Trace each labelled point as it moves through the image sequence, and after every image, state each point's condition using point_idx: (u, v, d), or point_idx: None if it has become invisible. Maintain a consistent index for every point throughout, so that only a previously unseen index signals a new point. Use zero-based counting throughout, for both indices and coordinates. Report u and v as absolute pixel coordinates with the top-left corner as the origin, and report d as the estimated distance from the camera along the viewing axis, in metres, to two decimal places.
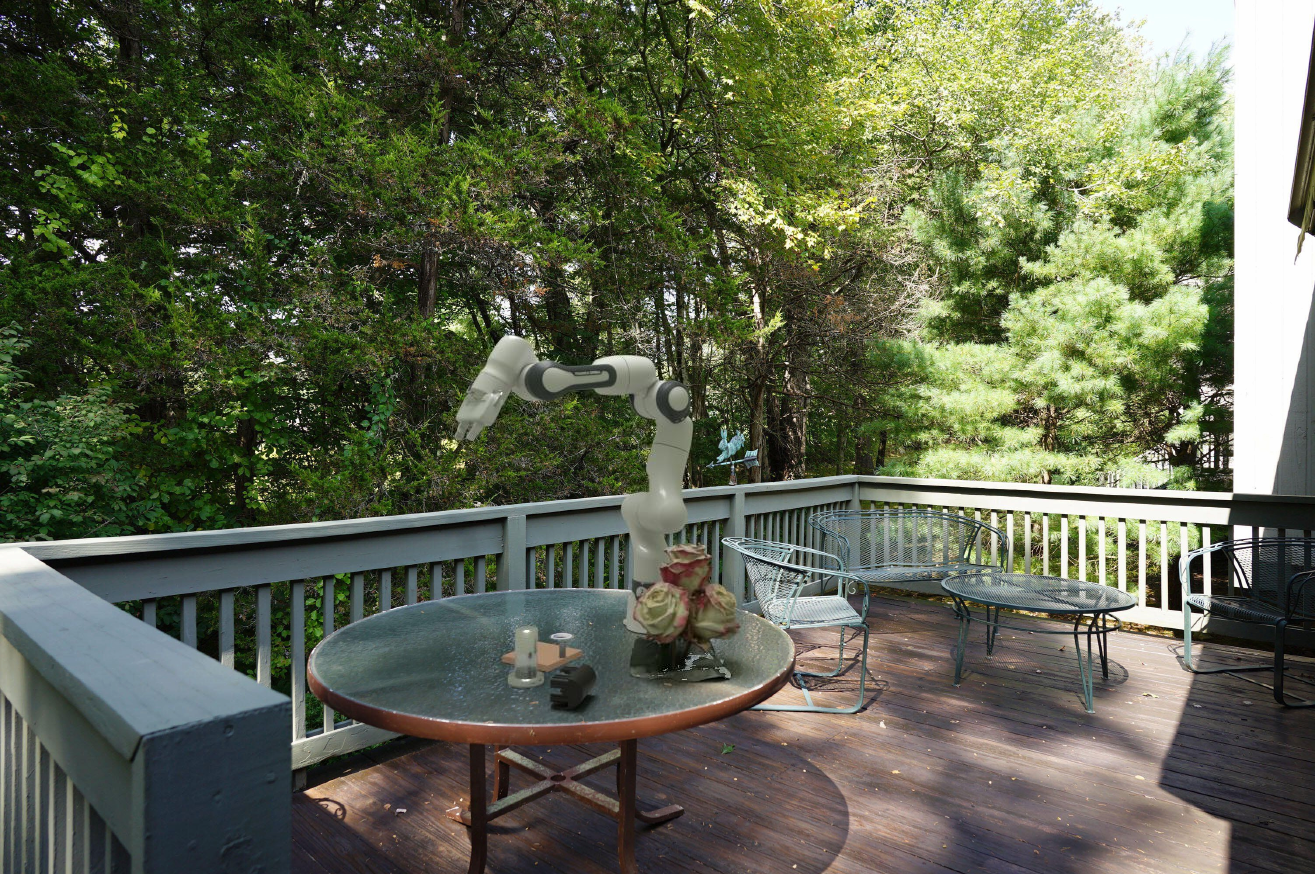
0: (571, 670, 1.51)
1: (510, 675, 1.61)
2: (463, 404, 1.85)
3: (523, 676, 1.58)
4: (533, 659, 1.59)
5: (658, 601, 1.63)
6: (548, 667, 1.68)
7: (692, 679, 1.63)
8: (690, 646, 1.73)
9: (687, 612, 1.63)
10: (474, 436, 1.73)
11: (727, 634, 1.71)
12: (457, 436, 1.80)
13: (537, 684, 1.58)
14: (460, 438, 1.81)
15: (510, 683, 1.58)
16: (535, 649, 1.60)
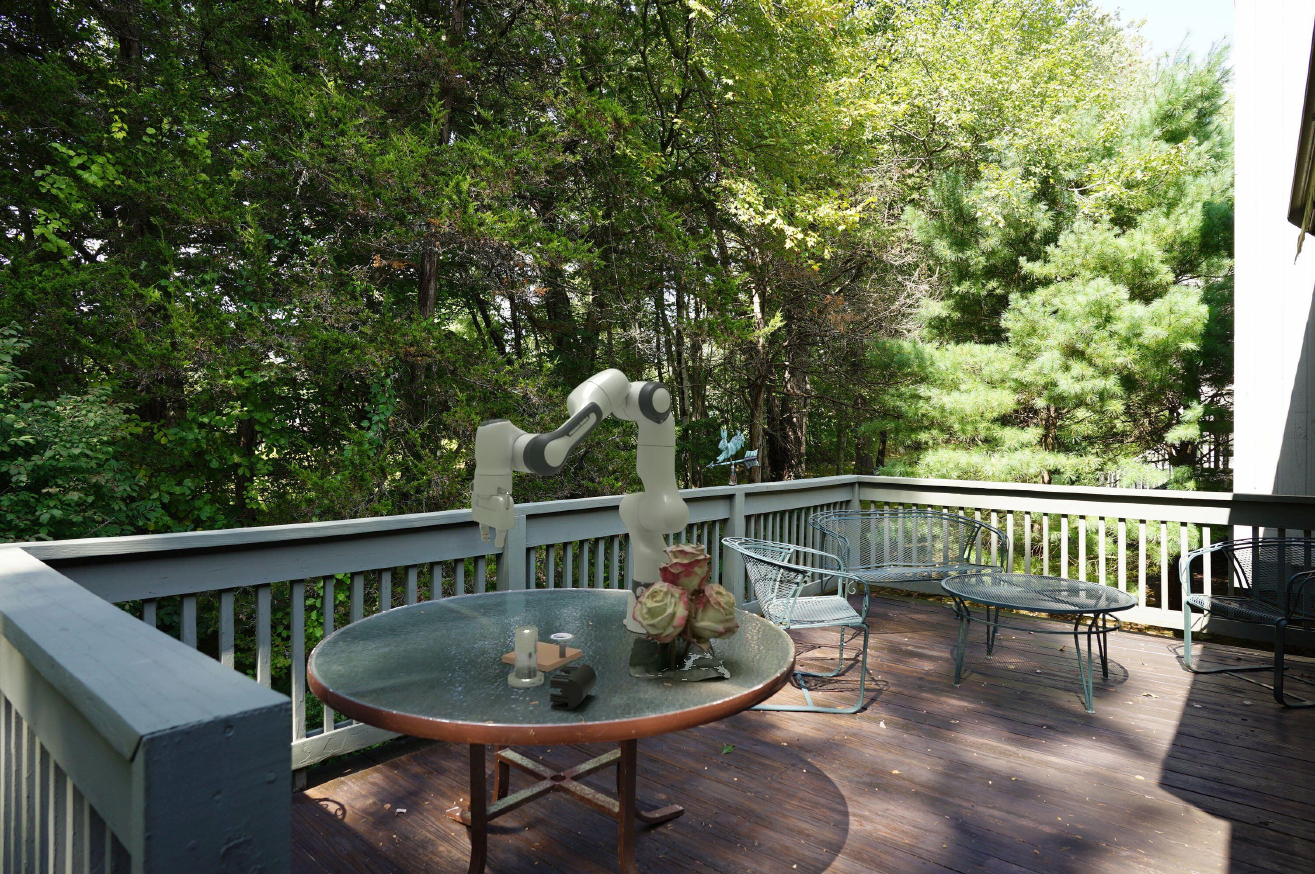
0: (571, 670, 1.51)
1: (510, 675, 1.61)
2: (473, 503, 1.77)
3: (523, 676, 1.58)
4: (533, 659, 1.59)
5: (657, 601, 1.63)
6: (548, 667, 1.68)
7: (691, 679, 1.64)
8: (689, 646, 1.74)
9: (686, 612, 1.63)
10: (502, 542, 1.67)
11: (726, 634, 1.71)
12: (484, 540, 1.74)
13: (537, 684, 1.58)
14: (488, 540, 1.75)
15: (510, 683, 1.58)
16: (535, 649, 1.60)
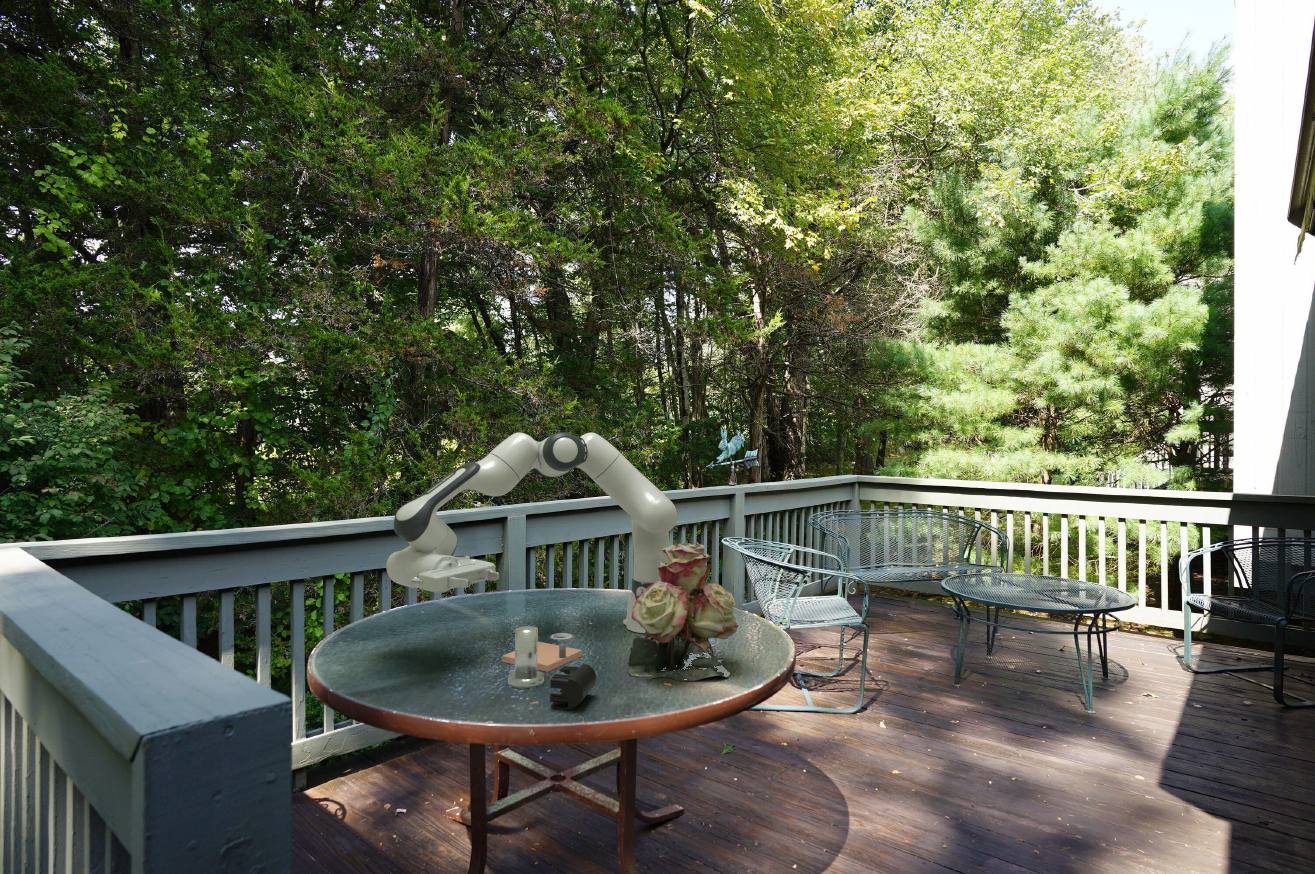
0: (571, 670, 1.51)
1: (510, 675, 1.61)
2: None
3: (523, 676, 1.58)
4: (533, 659, 1.59)
5: (657, 600, 1.63)
6: (548, 667, 1.68)
7: (690, 678, 1.64)
8: (688, 645, 1.74)
9: (686, 611, 1.63)
10: (462, 580, 1.63)
11: (725, 633, 1.71)
12: (493, 579, 1.71)
13: (537, 684, 1.58)
14: (493, 575, 1.71)
15: (510, 683, 1.58)
16: (535, 649, 1.60)
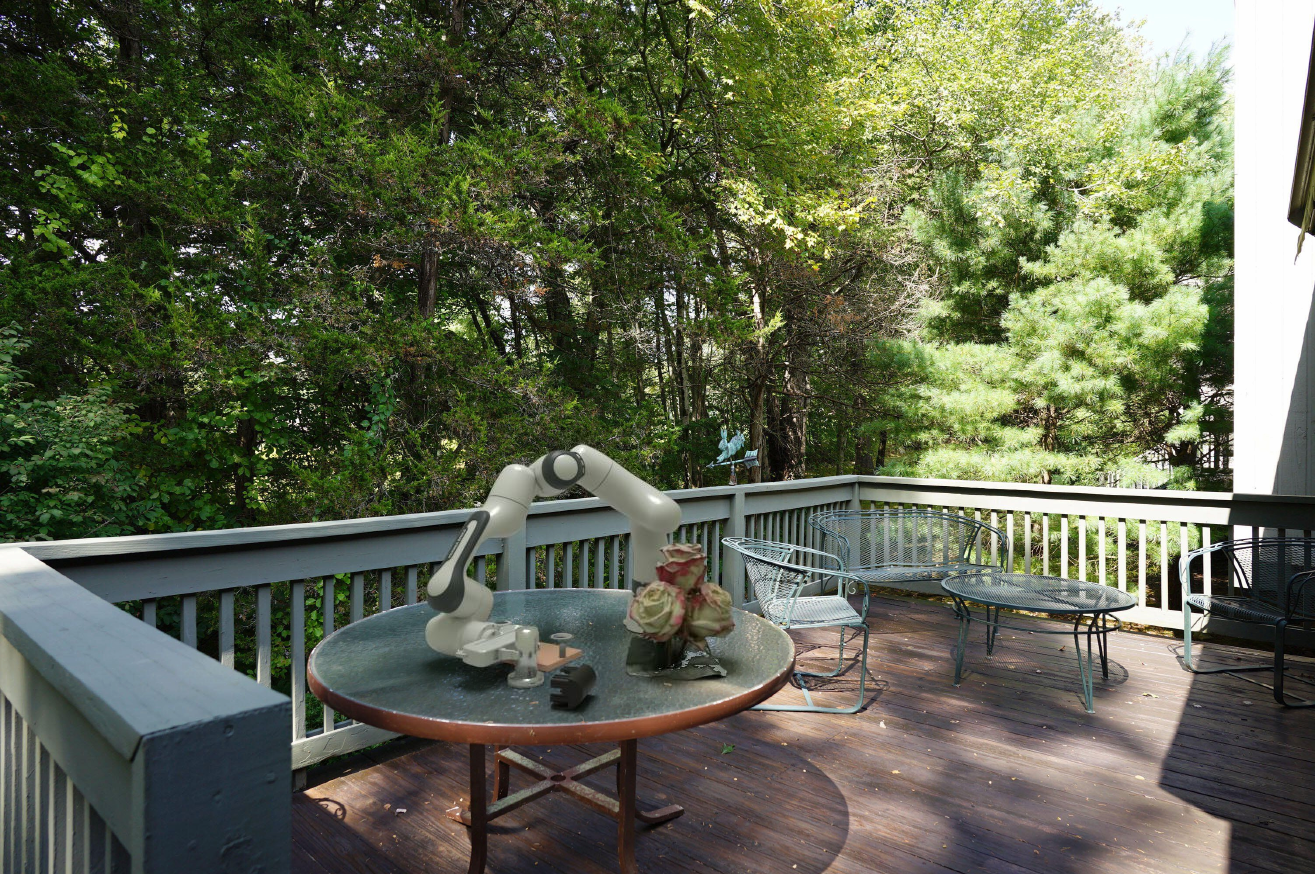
0: (571, 670, 1.51)
1: (510, 675, 1.61)
2: None
3: (523, 676, 1.58)
4: (533, 659, 1.59)
5: (654, 600, 1.64)
6: (548, 667, 1.68)
7: (688, 677, 1.65)
8: (686, 644, 1.75)
9: (683, 611, 1.64)
10: (513, 652, 1.58)
11: (722, 632, 1.72)
12: None
13: (537, 684, 1.58)
14: None
15: (510, 683, 1.58)
16: (535, 649, 1.60)
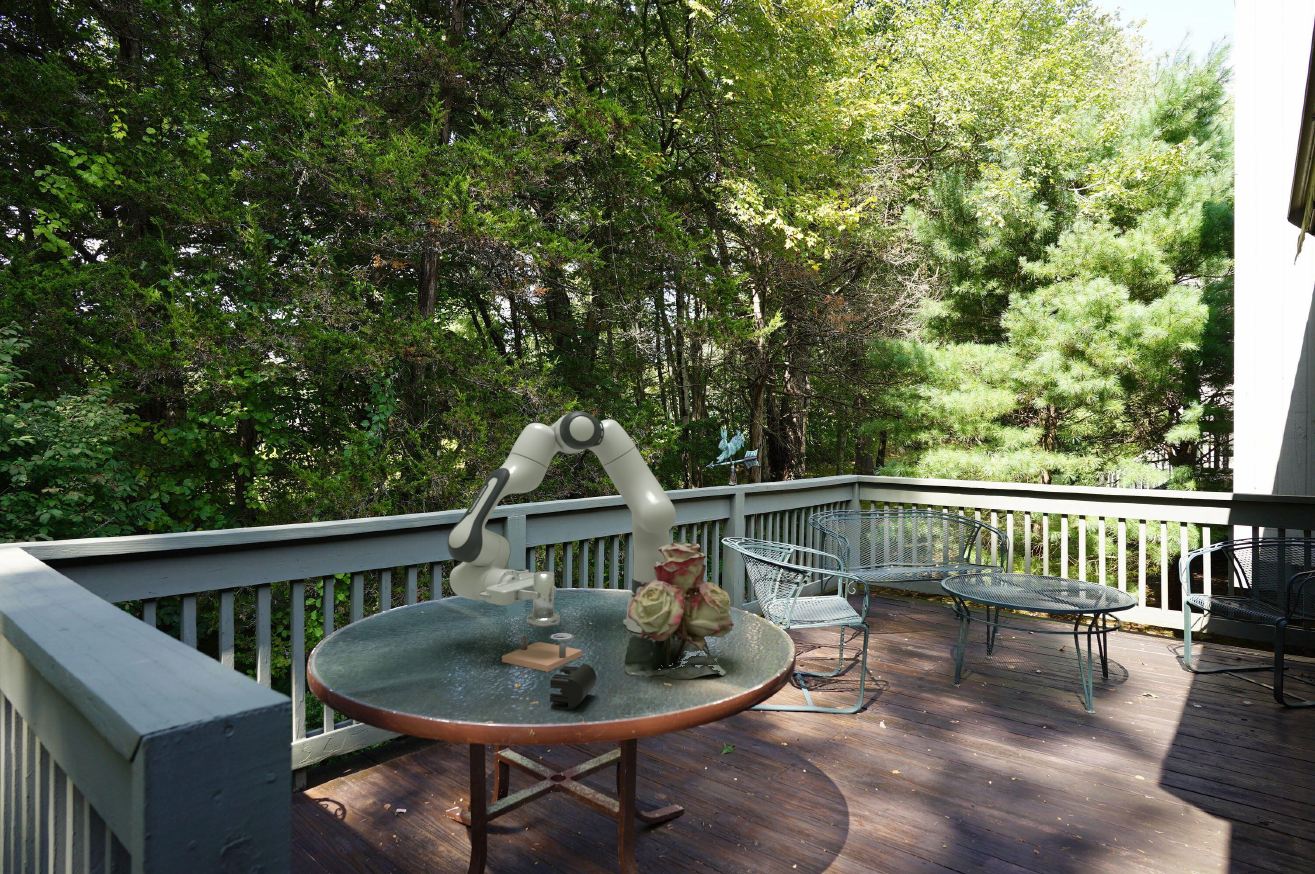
0: (571, 670, 1.51)
1: (529, 615, 1.76)
2: None
3: (541, 615, 1.74)
4: (550, 600, 1.75)
5: (653, 599, 1.64)
6: (548, 667, 1.68)
7: (687, 676, 1.65)
8: (684, 644, 1.75)
9: (682, 610, 1.65)
10: (532, 593, 1.73)
11: (721, 632, 1.73)
12: None
13: (554, 623, 1.74)
14: None
15: (529, 622, 1.74)
16: (552, 591, 1.75)
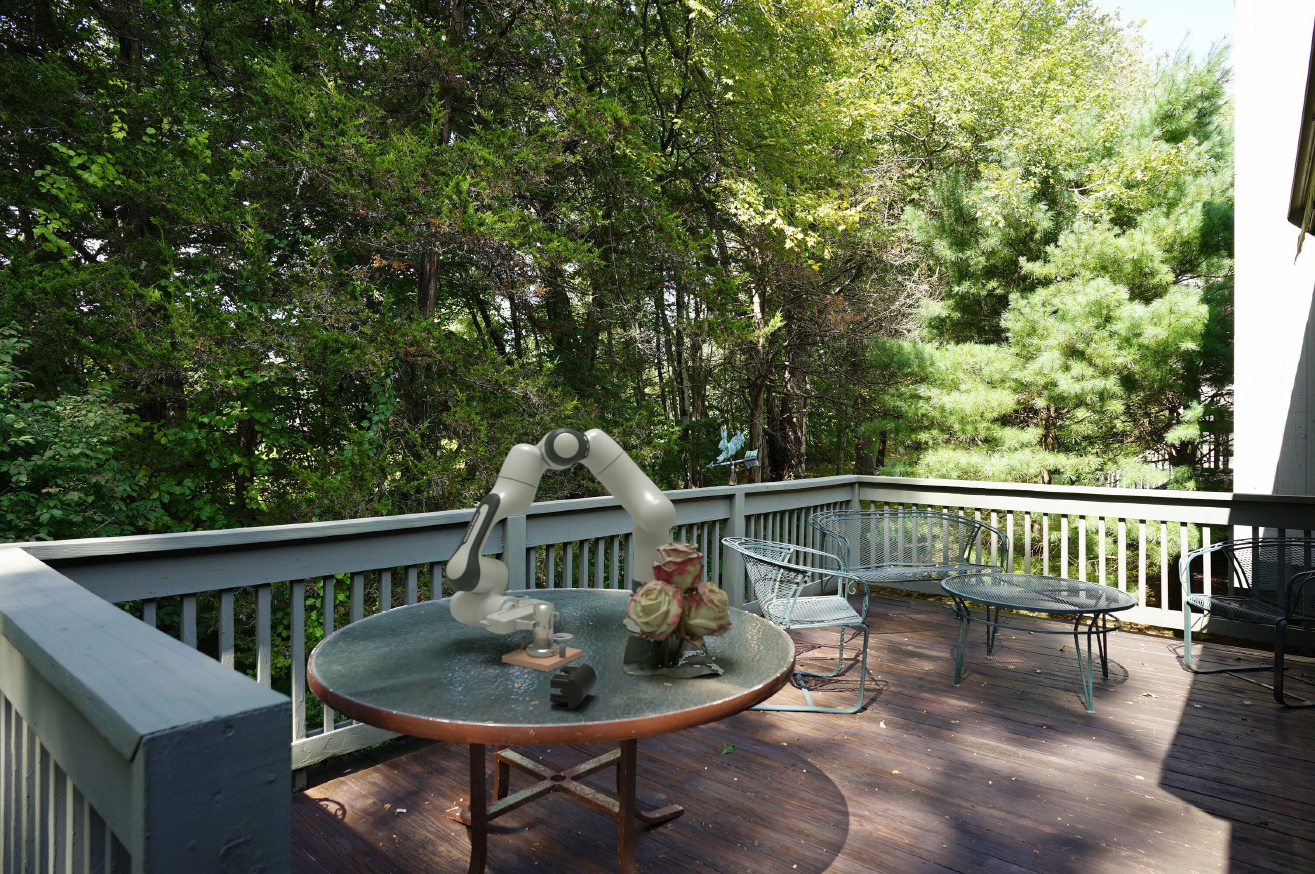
0: (571, 670, 1.51)
1: (528, 646, 1.77)
2: None
3: (540, 647, 1.75)
4: (550, 632, 1.76)
5: (652, 599, 1.65)
6: (548, 667, 1.68)
7: (685, 676, 1.66)
8: (682, 643, 1.76)
9: (680, 610, 1.65)
10: (528, 623, 1.73)
11: (719, 631, 1.73)
12: (554, 619, 1.81)
13: (553, 654, 1.75)
14: (554, 616, 1.81)
15: (528, 653, 1.75)
16: (551, 622, 1.76)
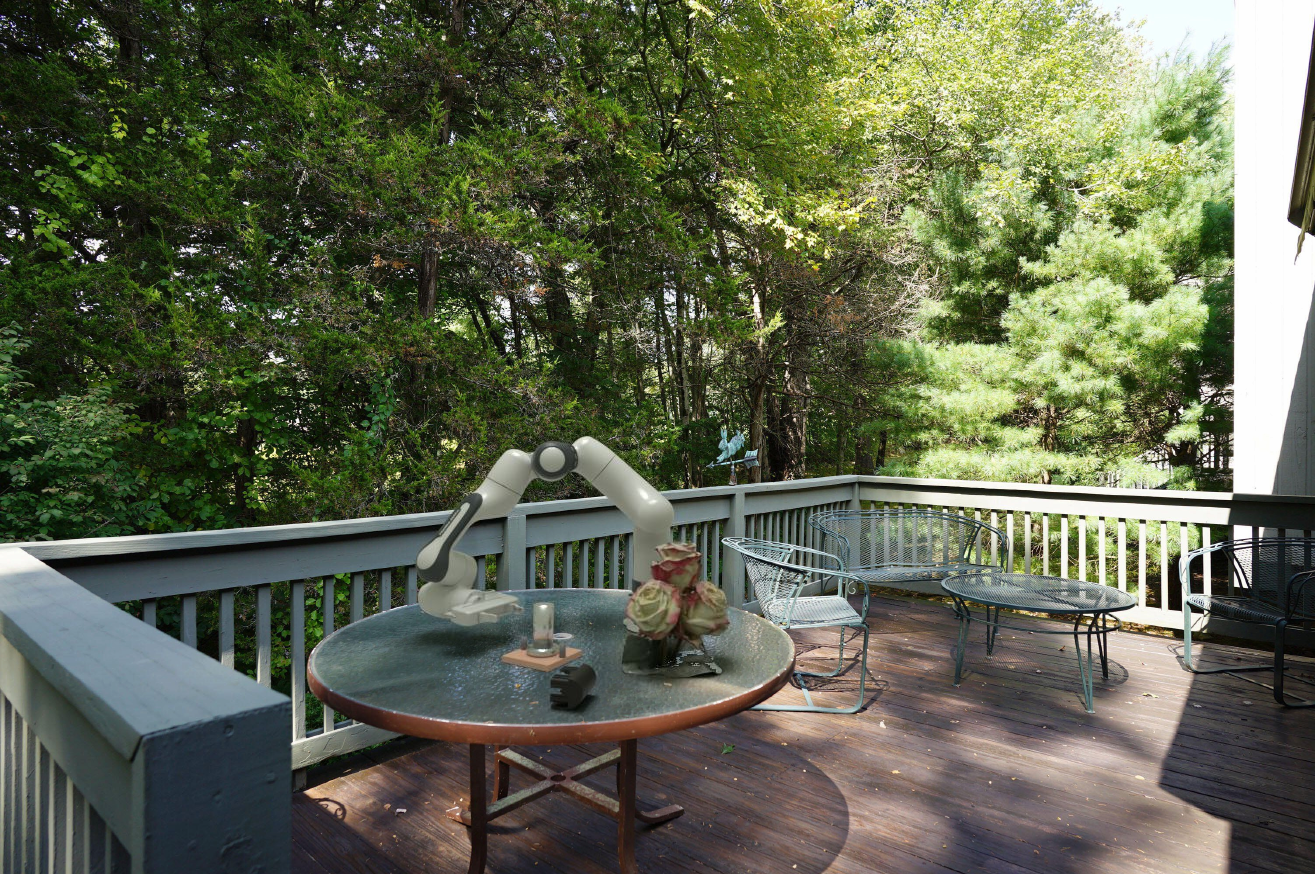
0: (571, 670, 1.51)
1: (528, 646, 1.77)
2: None
3: (540, 646, 1.75)
4: (550, 631, 1.76)
5: (650, 598, 1.65)
6: (548, 667, 1.68)
7: (683, 675, 1.66)
8: (681, 643, 1.76)
9: (679, 609, 1.66)
10: (492, 616, 1.79)
11: (717, 630, 1.74)
12: (518, 613, 1.87)
13: (553, 654, 1.75)
14: (518, 610, 1.87)
15: (528, 653, 1.75)
16: (551, 622, 1.76)
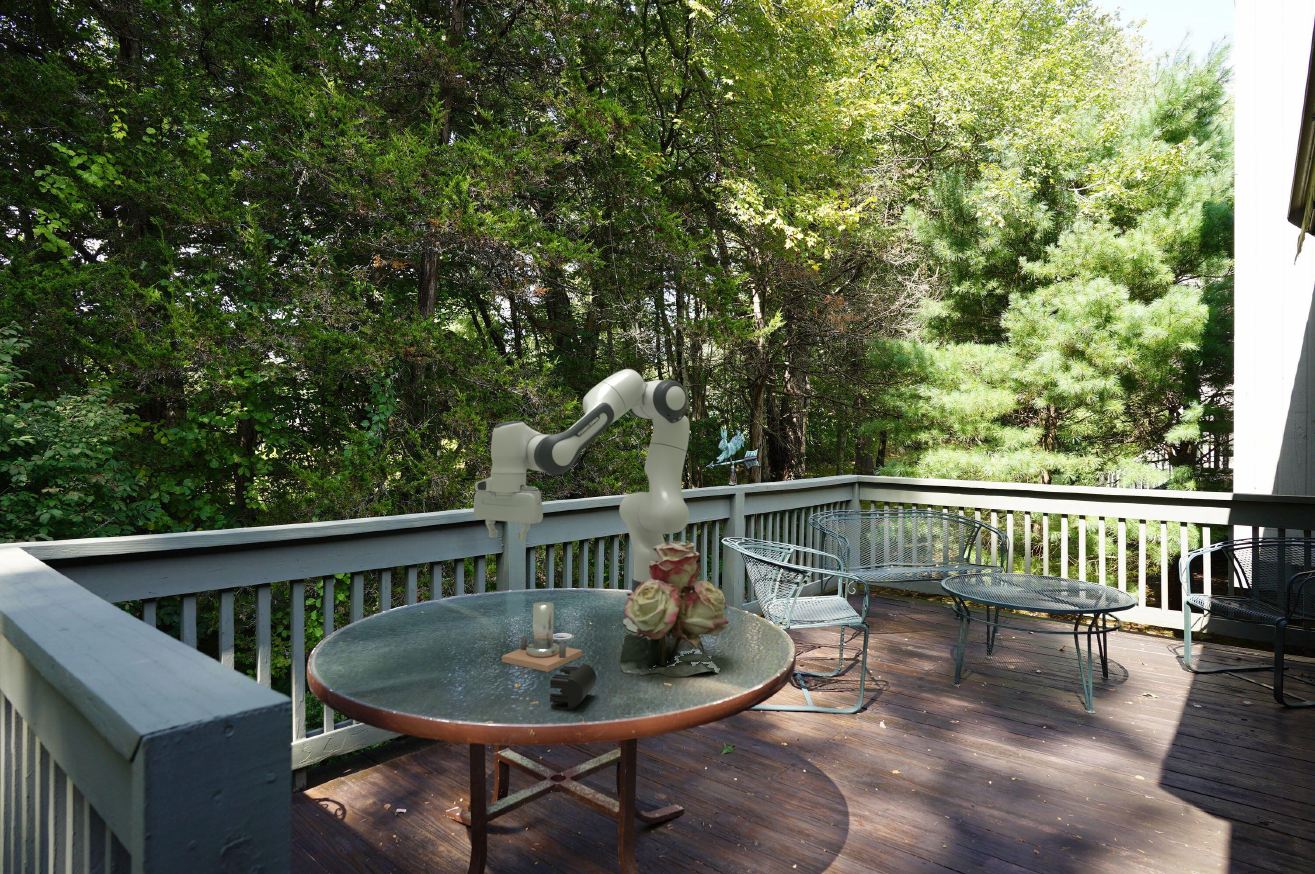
0: (571, 670, 1.51)
1: (528, 646, 1.78)
2: (477, 501, 1.84)
3: (540, 646, 1.75)
4: (549, 631, 1.76)
5: (649, 598, 1.66)
6: (548, 667, 1.68)
7: (682, 674, 1.67)
8: (679, 642, 1.77)
9: (677, 608, 1.66)
10: (525, 535, 1.79)
11: (715, 630, 1.74)
12: (494, 535, 1.83)
13: (552, 654, 1.75)
14: (496, 535, 1.84)
15: (528, 652, 1.75)
16: (551, 622, 1.76)
